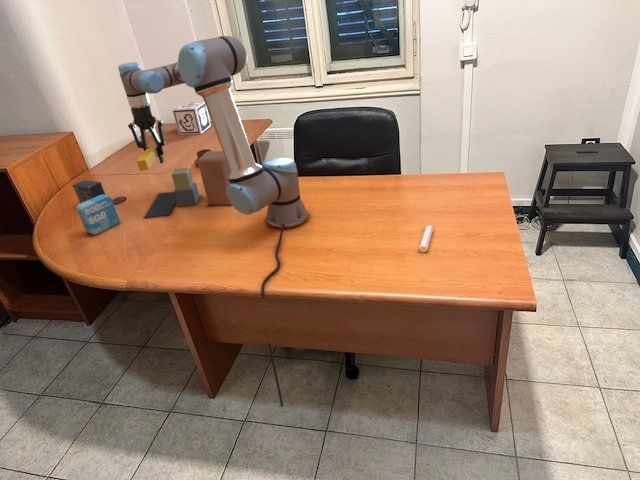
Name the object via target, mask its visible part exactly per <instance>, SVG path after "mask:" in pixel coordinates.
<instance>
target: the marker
mask: <svg viewBox="0 0 640 480" xmlns="http://www.w3.org/2000/svg"><path fill="white" fill-rule="evenodd" d="M433 231H434V228H433V226H432V224H429V225H427V226H426V227H425V229H424V232H423V236H422V238H421V242H420V245H419V248H418V250H419V251H420V252H421V253H426V252H427V250H428V248H429V245H430V241H431V238H432V236H433V235H432V234H433Z"/></svg>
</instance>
